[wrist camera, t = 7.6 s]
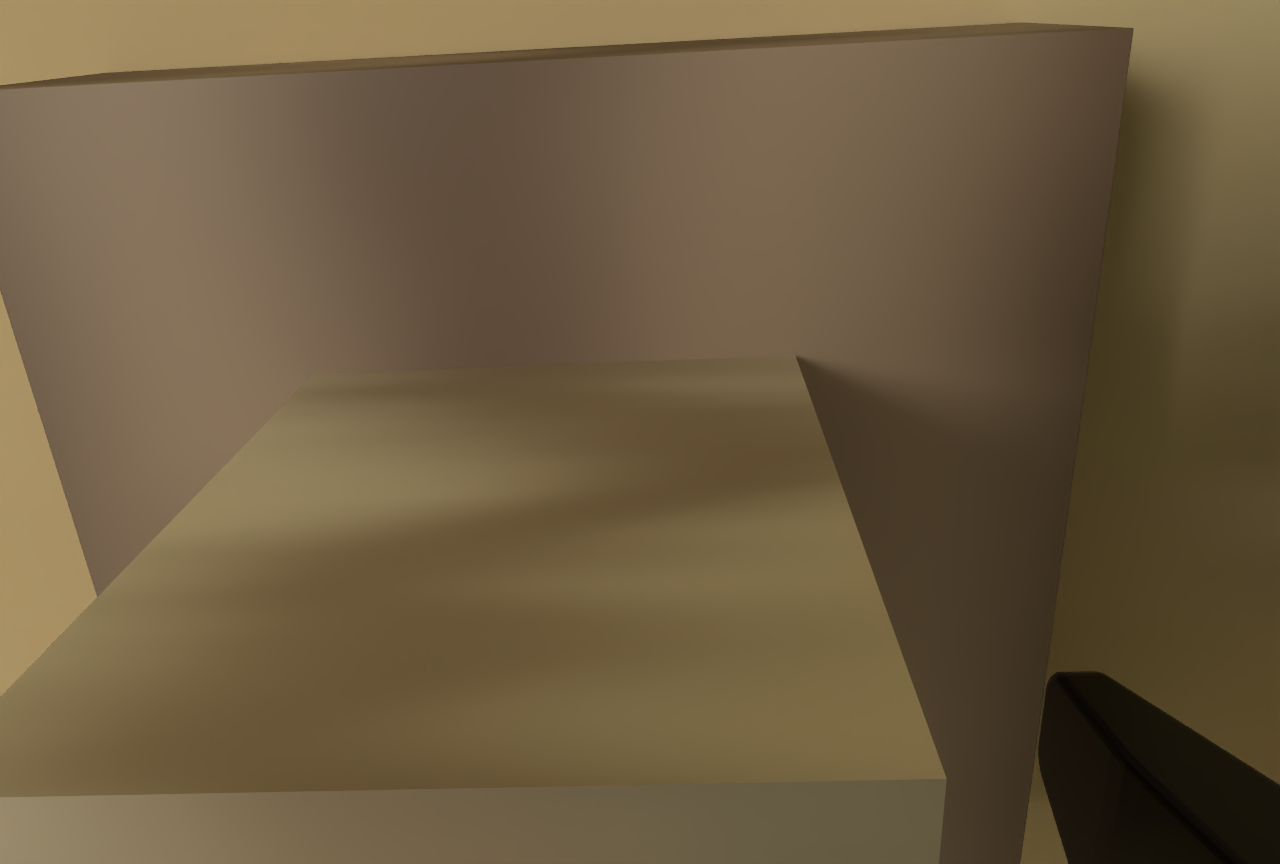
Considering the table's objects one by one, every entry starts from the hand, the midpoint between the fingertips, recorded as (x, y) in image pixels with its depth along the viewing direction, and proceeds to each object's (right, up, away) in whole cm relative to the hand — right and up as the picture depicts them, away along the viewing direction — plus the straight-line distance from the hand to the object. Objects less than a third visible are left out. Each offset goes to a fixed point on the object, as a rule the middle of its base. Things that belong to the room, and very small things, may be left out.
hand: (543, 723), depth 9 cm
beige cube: (0, +1, +2) cm, 2 cm away
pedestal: (0, +2, +5) cm, 6 cm away
